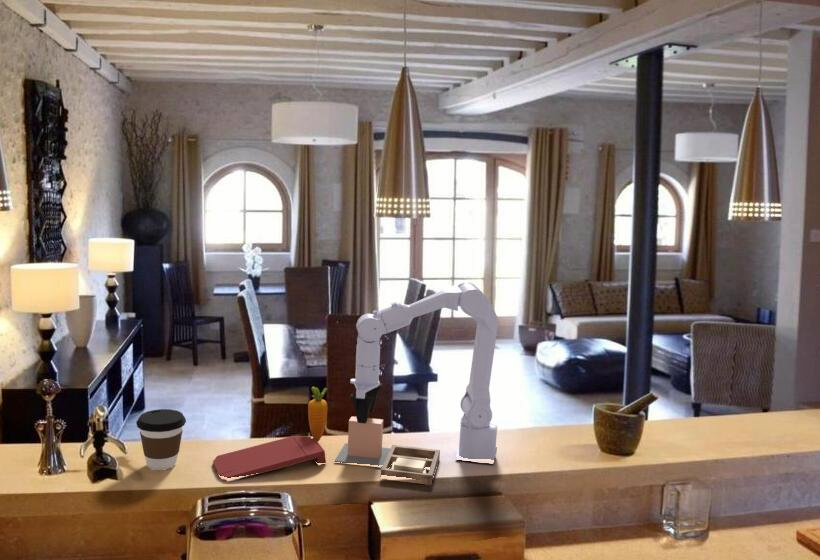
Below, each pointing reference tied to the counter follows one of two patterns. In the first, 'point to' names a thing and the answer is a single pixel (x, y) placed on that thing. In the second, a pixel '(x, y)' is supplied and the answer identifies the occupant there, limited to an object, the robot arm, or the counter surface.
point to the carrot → (317, 413)
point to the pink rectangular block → (365, 438)
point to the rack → (414, 454)
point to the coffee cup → (161, 437)
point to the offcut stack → (409, 465)
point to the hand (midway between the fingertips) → (365, 417)
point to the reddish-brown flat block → (269, 456)
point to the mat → (347, 458)
